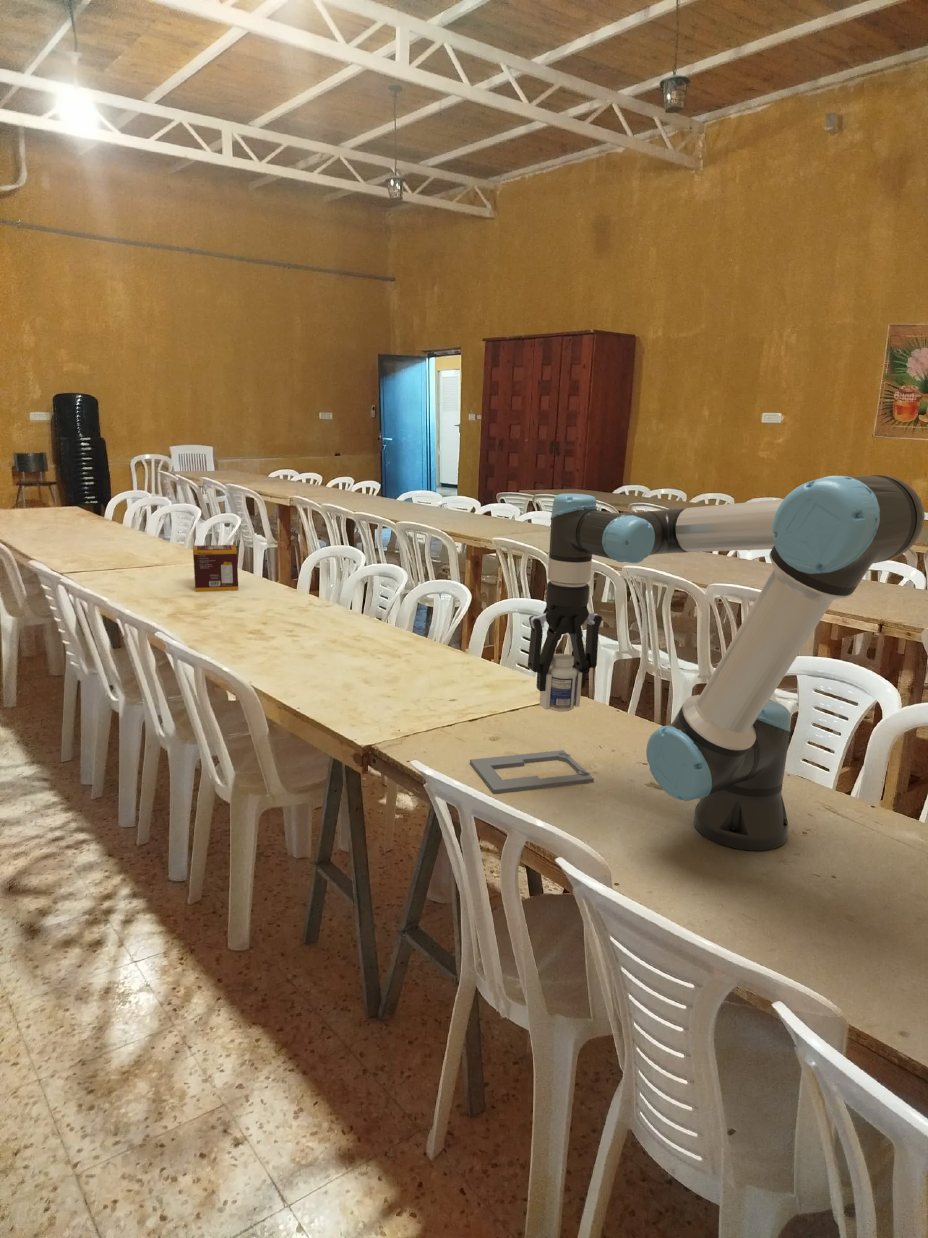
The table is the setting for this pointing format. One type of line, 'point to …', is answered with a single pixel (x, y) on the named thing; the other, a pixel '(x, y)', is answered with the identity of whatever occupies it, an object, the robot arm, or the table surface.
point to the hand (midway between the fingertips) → (559, 705)
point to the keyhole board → (527, 783)
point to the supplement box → (215, 568)
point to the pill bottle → (562, 683)
